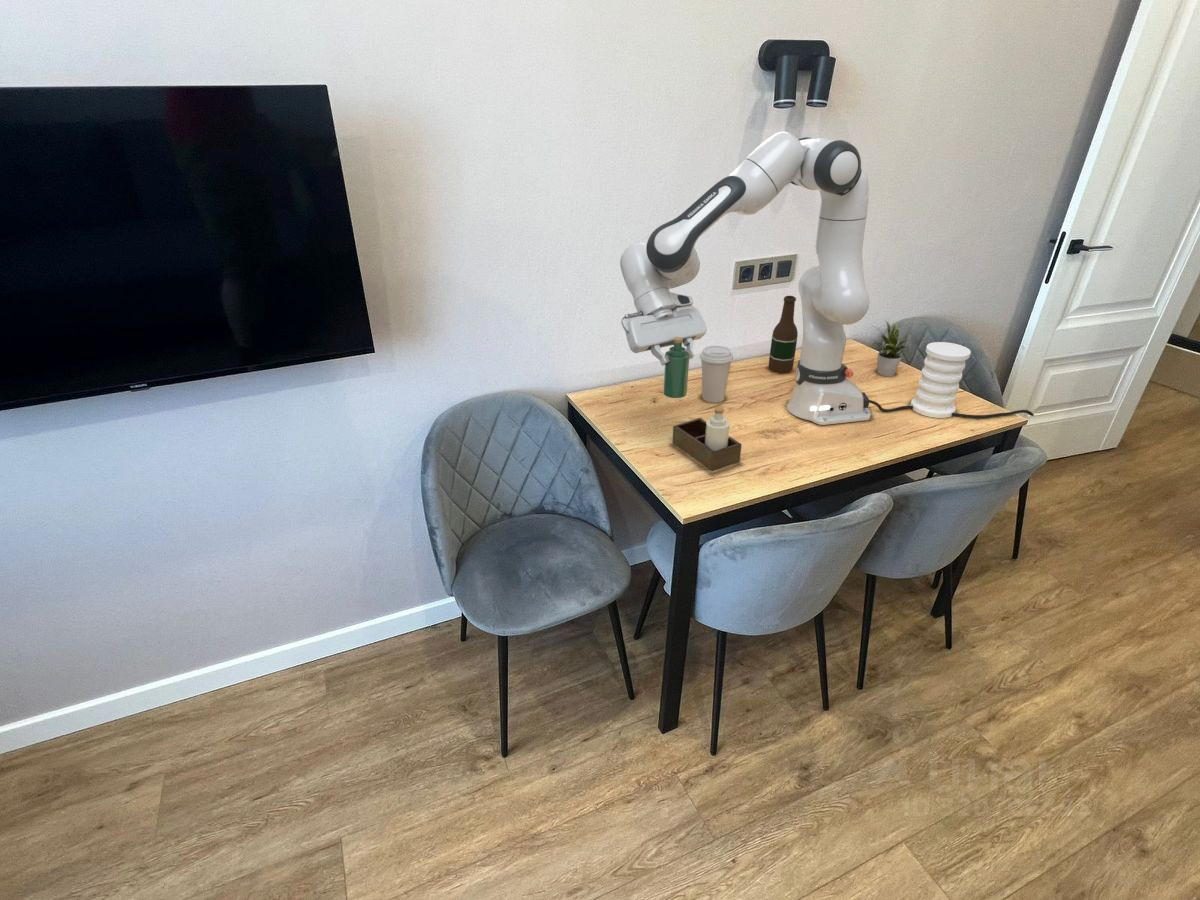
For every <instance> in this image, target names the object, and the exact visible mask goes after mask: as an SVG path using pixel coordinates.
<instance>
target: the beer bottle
mask: <svg viewBox="0 0 1200 900" xmlns="http://www.w3.org/2000/svg"><path fill="white" fill-rule="evenodd" d="M782 301H783V305H782V310H781V315H780V320H779V322H778V323H777V324H776V325H775V326H774V329H773V330H772V335H771V341H770V351H769V358H768V369H769V370H770V371H771V372H772V373H775V374H780V375H781V374H789V373H791V371H793V369H794V363H795V358H796V350H797V343H798V334H799V332H798V328H797V326H796V324H795V318H794V317H795V305H796V301H797V298H796V297H795V296H793V295H786V296H784V297H783V300H782Z"/></svg>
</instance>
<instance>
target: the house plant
mask: <svg viewBox="0 0 1200 900" xmlns="http://www.w3.org/2000/svg"><path fill="white" fill-rule="evenodd" d="M885 323H886V326H887V327H886V328H887V336H888V337H886V335H884V334H883V333H882V331H880V329H878V327H877V326H874V325H872V327H873V328H875V330H876V331H879V334H880V337H881V338H882V341H883V342H884V344H882V343H880V342H877V341H876V340H874V339H872V338H870V340H871V341H873V343H871V346H876V345H877V346H878V347H879V348H880V351H879V352H878V353H877V368H876V369H877V370H876V372H877V374H878V375H880V376H884V377H893V376H895V374H896V372H897V369H898V367H899V365H900V363H901V361H902V358H903V355H902V354H901V353H903V352H905V351H906V352H907V351H909V352H911V349H907V347H906V346H904V345H903V344H905V343H906V342H908V340H906V339H907V337H908V336H909V335H910V334H911V333H912V330H911V331H910V332H908V334H906V335H905V336H904V337H903V338H902V339H901V340H900V341H899V335H900V327H899V326H898V325H897V324H896V323H894V324H893V325H892V327H891V325H890V323H889V322H888V321H887V320H885ZM891 328H892V329H891ZM915 336H916V337H917V336H918V334H914V335H910V336H909V337H908V339H910V338H911V337H915ZM898 341H899V343H898ZM903 349H904V350H903Z"/></svg>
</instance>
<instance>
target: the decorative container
mask: <svg viewBox="0 0 1200 900" xmlns="http://www.w3.org/2000/svg"><path fill="white" fill-rule="evenodd" d="M925 353H926V357H925V358H924V360H923V361H924V366H923V367H922V369H921V377H920V378H919V380H918V388H917V389H916V392H915V393H916V394H915V395H916V397H913V398H911V401H910V404H909V406H913V409H912V411H914V412H915V413H917V414H919V415H922V416H926V417H930V418H934V419H935V418H938V419H945V418H950V417H952V415H951V414H952V413H956V408H957V407H956V405H955V404H954V403H955V402H956V399H957V392H958V391H959V389H960V382H961V380H962V379H963V371H964V370H965V368H966V360H969V358H971V357H970V356H971V354H972V351H971V349H969V348H968V347H966V346H964V345H962V344H958V343H954V342H945V341H935V342H929V343H927V345H926V347H925Z"/></svg>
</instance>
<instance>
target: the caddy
mask: <svg viewBox="0 0 1200 900" xmlns="http://www.w3.org/2000/svg"><path fill="white" fill-rule="evenodd" d="M706 422H707V420H705V419H703V418H701V417H698V418H694V419H691V420H688V421H685V422H681V423H677V424H675V425H673V427H672V444H673V445H674V446H675V447H677V448H679V450H682V452H684V453H686V454H687V455H689V456H690V457H691V458H693V459H694V460H696V461H697V462H698V463H700V464H701V465H702V466H704V467H705V468H707V469H708V470H709V471H711V472H715V471H718V470H721V469H724V468H726V467H730V466H732V465H735V464H738V463H740V462H741V453H742V445H743V444H742V443H740V441H738V440H736V439H735V438H733V437H731V436H730V435H729V438H728V447H725V448H722V449H719V450H716V451H713V450H712V449H710V448H709V447H707V446H706V445H705V432H706Z"/></svg>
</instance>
